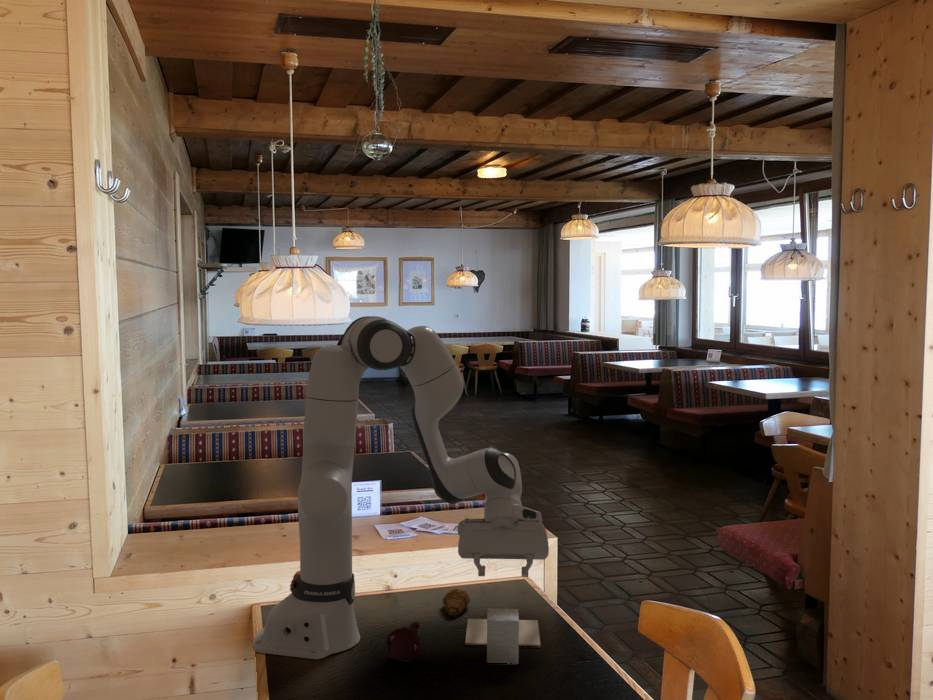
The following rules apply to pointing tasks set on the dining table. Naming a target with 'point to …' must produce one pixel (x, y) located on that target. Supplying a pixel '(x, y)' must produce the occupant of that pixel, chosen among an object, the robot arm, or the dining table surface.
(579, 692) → the dining table surface
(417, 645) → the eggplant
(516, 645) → the cover
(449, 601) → the croissant
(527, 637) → the board
